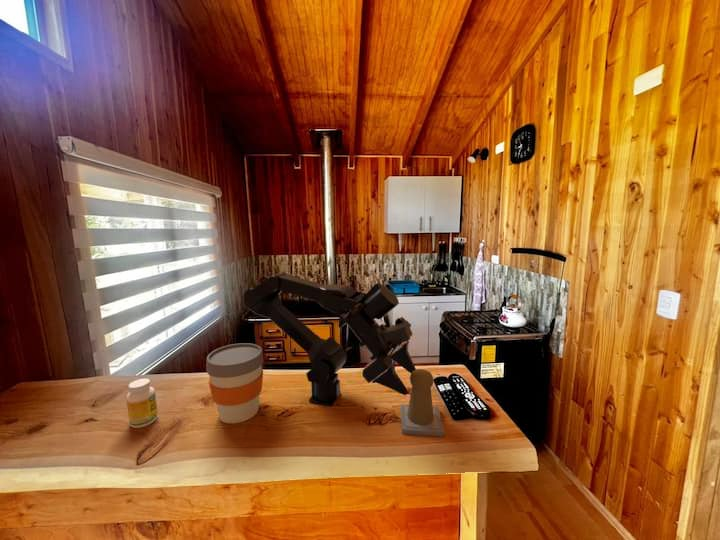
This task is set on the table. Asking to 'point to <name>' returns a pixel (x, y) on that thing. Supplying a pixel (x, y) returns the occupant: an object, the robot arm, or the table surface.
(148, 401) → the supplement bottle
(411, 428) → the coaster
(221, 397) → the reusable coffee cup
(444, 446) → the table surface
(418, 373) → the cork
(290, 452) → the table surface
